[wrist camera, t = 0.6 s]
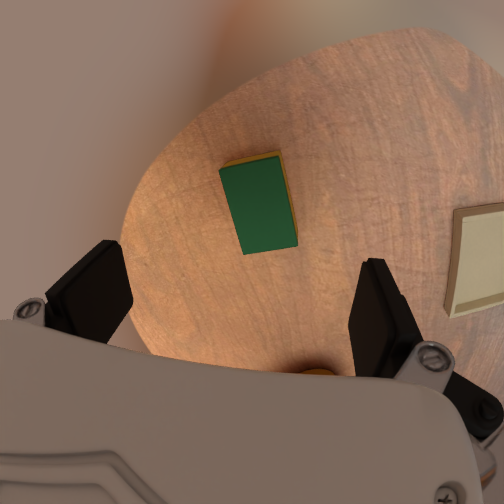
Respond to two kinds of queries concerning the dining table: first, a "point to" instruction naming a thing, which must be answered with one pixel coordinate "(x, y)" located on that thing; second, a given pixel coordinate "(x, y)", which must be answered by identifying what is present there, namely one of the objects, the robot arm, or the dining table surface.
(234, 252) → the dining table surface
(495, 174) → the dining table surface
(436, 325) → the dining table surface
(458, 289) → the tray
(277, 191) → the sponge
